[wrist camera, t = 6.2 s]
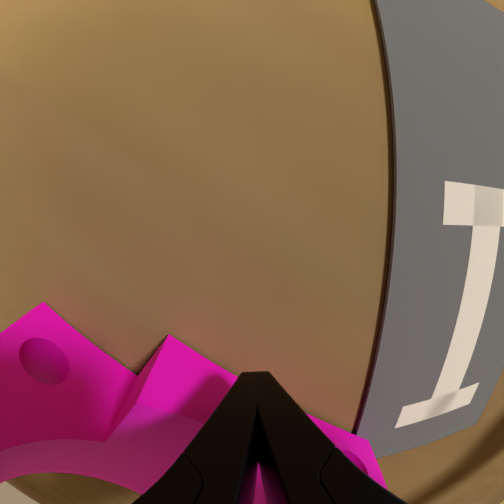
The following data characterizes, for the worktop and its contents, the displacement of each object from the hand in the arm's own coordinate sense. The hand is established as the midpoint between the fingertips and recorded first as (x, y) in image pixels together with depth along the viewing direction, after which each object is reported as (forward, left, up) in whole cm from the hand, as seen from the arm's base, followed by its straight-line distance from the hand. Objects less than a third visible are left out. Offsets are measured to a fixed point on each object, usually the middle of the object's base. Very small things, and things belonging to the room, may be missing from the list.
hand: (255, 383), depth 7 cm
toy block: (+3, +4, -2) cm, 5 cm away
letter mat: (-9, -3, -2) cm, 10 cm away
